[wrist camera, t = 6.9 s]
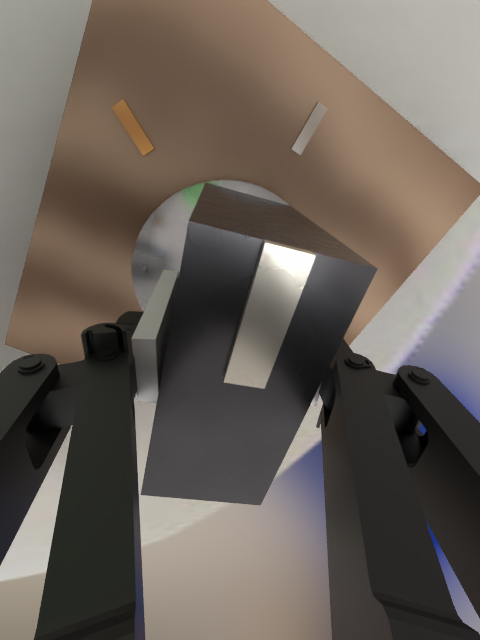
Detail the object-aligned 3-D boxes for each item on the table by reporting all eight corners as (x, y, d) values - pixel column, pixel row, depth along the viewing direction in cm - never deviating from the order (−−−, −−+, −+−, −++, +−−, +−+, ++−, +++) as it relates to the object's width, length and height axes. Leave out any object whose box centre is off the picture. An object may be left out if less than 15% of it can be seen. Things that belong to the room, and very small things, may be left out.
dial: (280, 356, 23) (331, 524, 12) (130, 329, 21) (43, 502, 10) (338, 207, 18) (506, 281, 7) (148, 153, 16) (16, 151, 5)
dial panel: (264, 412, 30) (269, 439, 27) (28, 323, 23) (2, 345, 21) (451, 183, 20) (488, 188, 18) (141, -71, 14) (122, -127, 11)
